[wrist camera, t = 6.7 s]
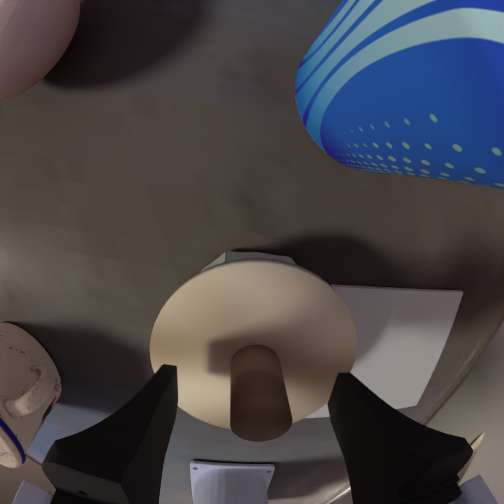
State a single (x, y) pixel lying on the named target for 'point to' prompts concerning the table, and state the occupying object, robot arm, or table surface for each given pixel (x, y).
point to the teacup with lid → (23, 392)
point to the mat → (397, 338)
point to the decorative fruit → (33, 40)
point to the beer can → (409, 88)
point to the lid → (254, 345)
